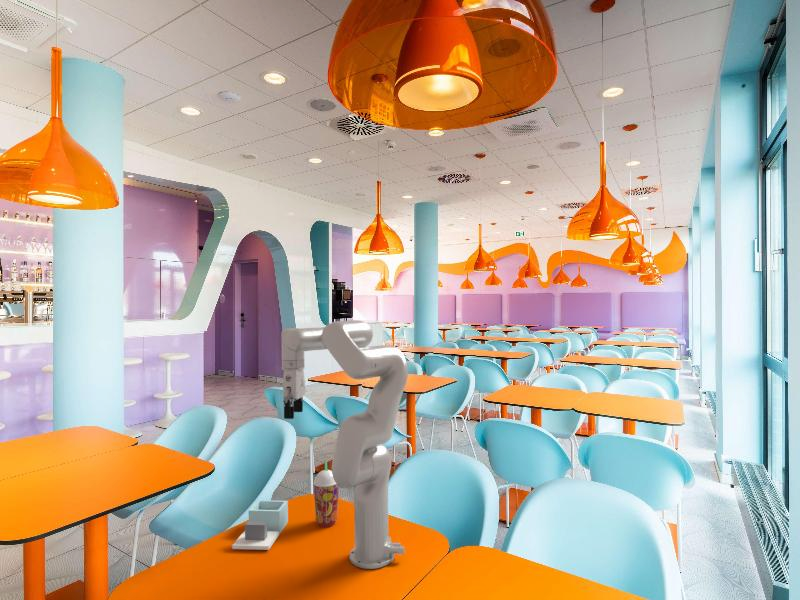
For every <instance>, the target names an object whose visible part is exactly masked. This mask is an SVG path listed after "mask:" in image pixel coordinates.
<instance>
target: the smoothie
mask: <svg viewBox="0 0 800 600" xmlns="http://www.w3.org/2000/svg"><path fill="white" fill-rule="evenodd" d="M312 483H313V494H314V495H313V496H314V507H315V508H314V509H315V510H314V511H315V521H316V522H317V525H318V526H319V527H322V528H329V527H332V526H334V525H335V524H336V521H337V520H338V509H339V487H340V486H338V485H337V484H336V482H335V481H334V478H333V475H332V469H328V461H325V462H324V469H323V470H321V471H320V472H318V473H317V475H316V476H315V478H314V481H313V482H312Z"/></svg>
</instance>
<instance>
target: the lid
mask: <svg viewBox="0 0 800 600" xmlns="http://www.w3.org/2000/svg"><path fill="white" fill-rule="evenodd" d="M279 536H280V534H279V532H278V531H267V522H256V521H249V520H247V522H246V523H245V524H244V531H243V532H242V533H241V534H240V535H239V536H238V538H237V539H236V540H235V541H234V543H232V544H231V549H232V550H258V551H259V550H261V551H262V550H265V551H266V550H267V551H269V550H270V549H271V547H272V546H273V544H274V543H275V541H276V540H277V539H278V537H279Z"/></svg>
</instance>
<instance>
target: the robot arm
mask: <svg viewBox="0 0 800 600" xmlns="http://www.w3.org/2000/svg"><path fill="white" fill-rule="evenodd" d="M373 333H374V332H373V329H372V327H371V326H370V325H369V324H368V323H366V322H365V321H362V320H356V319H355V320H337V321H332V322H331V323H328V324H327V325H326V326H324V327H323V326H322V327H305V328H303V327H302V328H299V327H298V328H297V327H296V328H295V327H291V328H288V327H287V328H284V329H283V330H282V331H281V370H282V371H283V377H282V395H283V396H282V398H283V418H284V420H285V419H286V420H287V419H288V420H293V419H294V418H295V413H302V412H303V409H304V408H303V407H304V405H303V404H304V403H303V401H304V399H303V398H304V396H305V395H306V387H305V386H306V384H305V373H304V372H305V371H304V369H305V352H309V351H311V352H312V351H321V350H322V351H323V350H327V351H329V354H331V357H332V358H334V360H335V361H336V362H337V364H338V365H339V366H340V368H341V369H342V370H343V372H344V373H345V374H346V375H347V376H348V377H349V378H351V379H354V380H356V381H357V380H366V379H373V378H377V377H379V379H378V381H377V382H376V383H375V384H374V387H373V389H372V390H371V392H370V394H369V398H368V403H367V406H366V409H365V410H364V411H363V412H361V413H355V414H352V415H350V416H349V415H348V417H346V418H345V419H344V420H343V422H342V423H341V424H340V426H339V429H338V433H337V438H336V442H335V447H334V452H333V457H332V462H331V471H332V475H333V478H334V481H335V482H336V484H337V485H338V486H339V487H340V488H343V489H350V488H353V487H355V490H354V496H353V497H354V503H353V504H354V506H353V507H354V510H353V511H354V547H353V548H352V549H351V550H350V552H349V561H350V562H351V564H352V565H354V566H356V567H358V568H360V569H365V570H367V569H368V570H373V569H380V568H383V567H386V566H387V565H389V564H391V563H392V562H393V561H394V558H395V554H397V555H404V554H405V546H402V544H401V542H393V541H392V537H391V536H389V482H390V481H389V480H390V474H391V469H392V457H391V452H390V451H389V449H388V447H386V446H385V445H384V444H386V443H387V442H389V441H390V440H391V438H392V437H393V434H394V430H395V426H396V422H397V417H398V414H399V409H400V403H401V399H402V397H403V393H404V391H405V388H406V385H407V380H408V376H409V375H408V374H409V367H408V366H409V365H408V363H407V359H406V357H405V354H404V352H402V351H401V350H400V349H399V348H397V347H396V346H392V345H387V344H386V345H372V346H369V344H371V342H372V339H373V336H374V335H373Z"/></svg>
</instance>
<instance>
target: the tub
mask: <svg viewBox="0 0 800 600" xmlns="http://www.w3.org/2000/svg"><path fill="white" fill-rule="evenodd" d="M288 505H289V501H288V500H274V499H273V500H270V499H269V500H268V499H266V500H265V499H263V500H262V499H258V500H257V501H256V502H255V503H254V504H253V506H252V507H250V509H248V521H256V522H267V531H278V532H279V535H280V534H281V533H282V531H283V530H284V528H285V527H286V525H287V524H288V523H289V506H288Z"/></svg>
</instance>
